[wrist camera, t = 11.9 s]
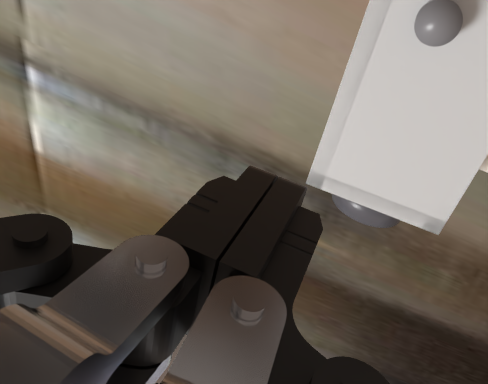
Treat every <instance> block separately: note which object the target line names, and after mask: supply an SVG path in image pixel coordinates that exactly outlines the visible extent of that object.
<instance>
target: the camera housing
mask: <svg viewBox="0 0 488 384" xmlns="http://www.w3.org/2000/svg"><path fill="white" fill-rule="evenodd" d="M487 155H488V0H370V1H369V4H368V7H367V10H366V13H365V15H364V18H363V21H362V24H361V27H360V30H359V33H358V35H357V38H356V41H355V44H354V47H353V50H352V53H351V56H350V58H349V61H348V64H347V67H346V70H345V73H344V76H343V78H342V81H341V84H340V87H339V90H338V93H337V96H336V98H335V101H334V104H333V107H332V110H331V113H330V116H329V119H328V121H327V124H326V127H325V130H324V133H323V136H322V139H321V141H320V144H319V147H318V150H317V153H316V156H315V159H314V161H313V164H312V167H311V170H310V173H309V176H308V179H307V182H306V184H309V185H311V186H314V187H316V188H319V189H321V190H324V191H327V192H329V193H332V199H333V201H334V203H335V205H336V206H337V207H338V208H339V209H340V210H341V211H342V212H343V213H344V214H346V215H347V216H349V217H350V218H352V219H354V220H356V221H358V222H360V223H363V224H365V225H369V226H373V227H380V228H387V227H392V226H395V225H397V224H398V223H399V222H400V220H401V221H404V222H406V223H409V224H411V225H414V226H417V227H419V228H422V229H424V230H427V231H429V232H432V233H435V234H437V235H439V233H440V232H441V230H442V228H443V227H444V225H445V223H446V222H447V220H448V218H449V217H450V215H451V214H452V212H453V210H454V209H455V207H456V205H457V204H458V202H459V200H460V199H461V197H462V196H463V194H464V192H465V191H466V189H467V187H468V186H469V184H470V182H471V181H472V179H473V178H474V176H475V174H476V173H477V171H478V169H479V168H480V166H481V164H482V163H483V161H484V160H485V158H486V156H487Z"/></svg>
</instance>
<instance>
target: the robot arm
mask: <svg viewBox="0 0 488 384" xmlns="http://www.w3.org/2000/svg"><path fill="white" fill-rule="evenodd" d="M306 190H307V187H305V186H302V185H300V184H297V183H295V182H292V181H289V180H287V179H284V178H282V177H278V176H276V175H274V174H271V173H269V172H266V171H264V170H261V169H258V168H256V167H253V166H249V167H248V168H247V169H246V170H245V171H244V172H243V174H242V175H241V176H240V177H239V178H238V179H237V180H236V181H235V180H233V179H230V178H228V177H225V176H222V177H219V178H217V179H214V180H211V181H209V182H207V183H206V184H205V185H204V186H203V187H202V188H201V189H200V190H199V191H198V192H197V193H196V195H194V196H193V197H192V198H191V199H190V200H189V201H188V203H187V204H185V205H184V206H183V207H182V208H181V209H180V210H179V211H178V212H177V213H176V214H175V215H174V216H173V217H172V218H171V219H170V220H169V221H168V222H167V223H166V224H165V225H164V226H163V227H162V228H161V229H160V230H159V231H158V232H157V233H156V234H155V235H141V236H136V237H133V238H130V239H128V240H126V241H124V242H123V243H121V244H120V245H119V246H117V247H116V248H115V249H114V250H111V249H102V248H97V247H91V246H85V245H80V244H74V243H73V240H72V231H71V229H70V227H69V226H68V225H67V223H65V222H64V221H63V220H61V219H59V218H57V217H54V216H50V215H46V214H25V215H18V216H11V217H4V218H0V384H155V382H156V381H157V380H158V378H159V377H160V376H161V375H162V373H163V372H164V371H165V369H166V368H167V367H168V365H169V363H170V361H171V358H172V353H173V352H174V350H175V349H176V347H177V346H178V344H179V343H180V341H181V340H182V338H183V337H184V335H185V334H186V335H187V337H186V339H185V341H184V342H183V344H182V346H181V348H180V350H179V352H178V354H177V356H176V357H175V359H174V361H173V363H172V365H171V367H170V369H169V371H168V372H167V374H166V376H165V378H164V379H163V381H162V382H161V383H160V384H389V382H388V381H387V380H386V379H385V378H384V377H383V376H382V375H381V374H380V373H379V372H378V371H377V370H376V369H374V368H373V367H371V366H370V365H368V364H366V363H365V362H362V361H360V360H358V359H354V358H351V357H343V356H342V357H333V358H330V359H326V358H325V357H324V356H323V355H321V354H320V353H319V352H318V351H317V350H315V349H314V348H313V347H312V346H311V345H310V344H309V343H308V342H307V341H306V340H305V339H304V338H303V337H302V335H301V334H300V332H299V331H298V329H297V327H296V325H295V322H294V319H293V314H292V307H293V302H294V299H295V297H296V294H297V292H298V290H299V287H300V285H301V282H302V280H303V277H304V275H305V272H306V270H307V267H308V265H309V262H310V260H311V258H312V255H313V253H314V250H315V248H316V245H317V243H318V240H319V238H320V235H321V233H322V230H323V227H322V223H321V219H320V215H319V214H318V213H315V212H313V211H310V210H308V209H305V208H303V207H301V205H302V202H303V199H304V196H305V193H306ZM156 384H158V383H156Z"/></svg>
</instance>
